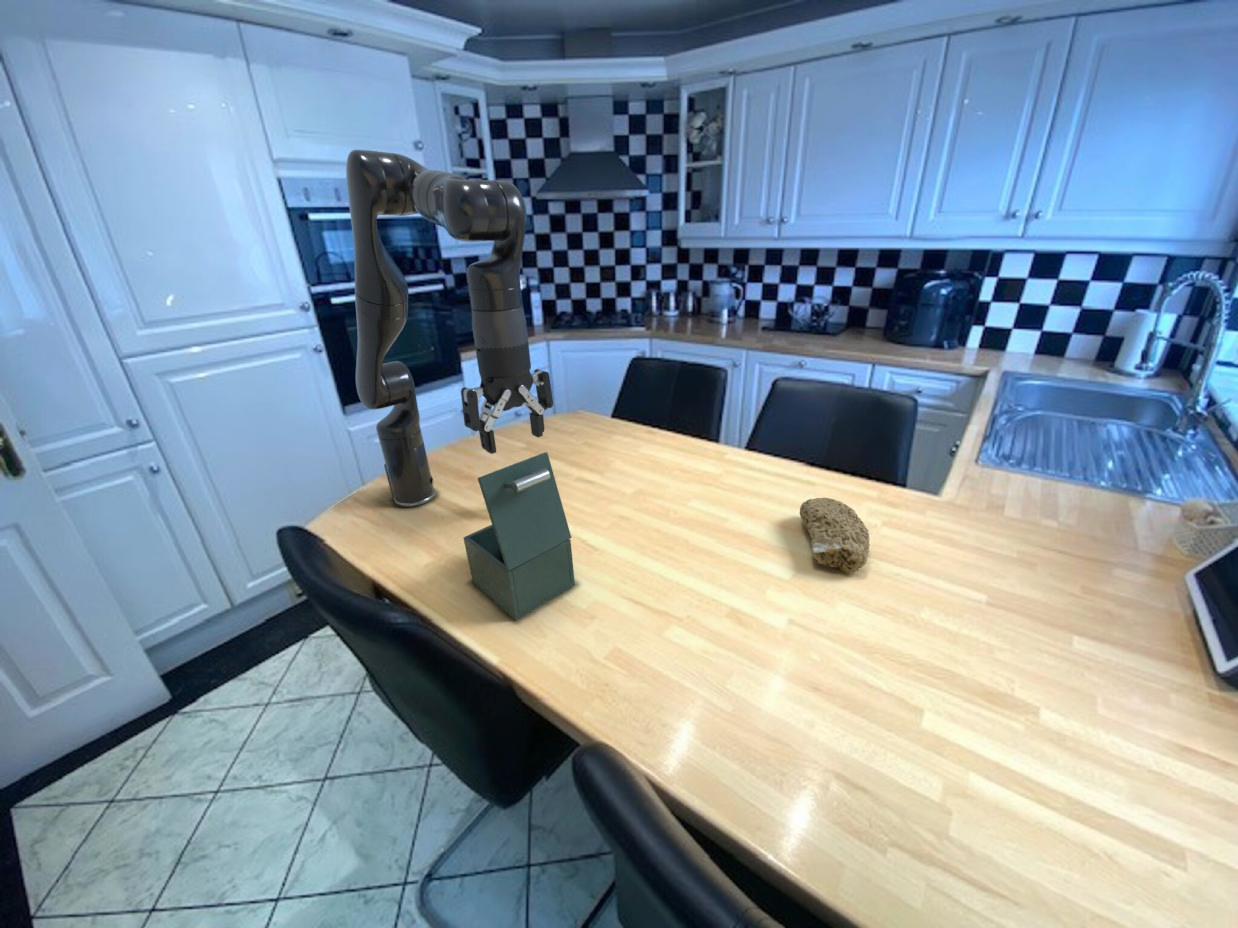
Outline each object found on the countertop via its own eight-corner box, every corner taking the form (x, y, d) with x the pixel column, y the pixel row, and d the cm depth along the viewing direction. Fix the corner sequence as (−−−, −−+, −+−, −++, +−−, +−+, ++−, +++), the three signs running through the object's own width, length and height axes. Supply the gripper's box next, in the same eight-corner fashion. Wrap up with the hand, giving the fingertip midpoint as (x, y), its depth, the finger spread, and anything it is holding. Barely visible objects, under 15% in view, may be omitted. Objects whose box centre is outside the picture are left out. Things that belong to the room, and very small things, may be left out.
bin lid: (477, 478, 76) (492, 479, 72) (545, 452, 84) (562, 452, 80) (506, 569, 80) (523, 575, 76) (569, 537, 87) (587, 540, 83)
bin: (472, 581, 93) (463, 537, 89) (529, 552, 101) (523, 510, 97) (516, 620, 84) (507, 572, 79) (575, 584, 91) (570, 539, 87)
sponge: (870, 584, 90) (870, 510, 104) (868, 552, 86) (869, 481, 100) (793, 578, 96) (803, 509, 110) (788, 548, 92) (799, 481, 106)
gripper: (528, 328, 79) (538, 425, 86) (442, 344, 70) (461, 450, 77) (557, 335, 74) (565, 437, 81) (469, 353, 65) (486, 465, 73)
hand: (514, 443), depth 79 cm, fingers open, 8 cm apart
